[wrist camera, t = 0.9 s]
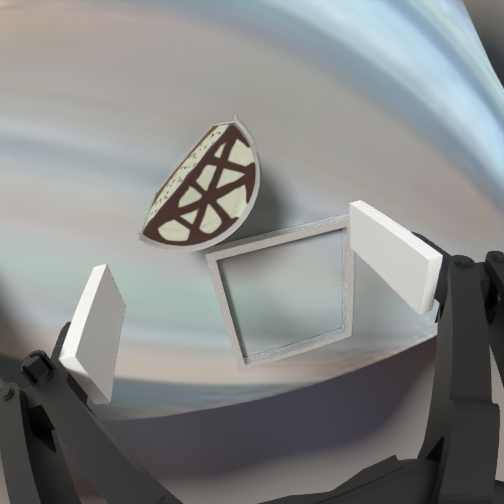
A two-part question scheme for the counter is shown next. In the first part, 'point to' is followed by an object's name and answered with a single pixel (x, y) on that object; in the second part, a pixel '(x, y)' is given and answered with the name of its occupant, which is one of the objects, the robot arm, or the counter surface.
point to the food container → (206, 192)
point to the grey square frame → (274, 239)
